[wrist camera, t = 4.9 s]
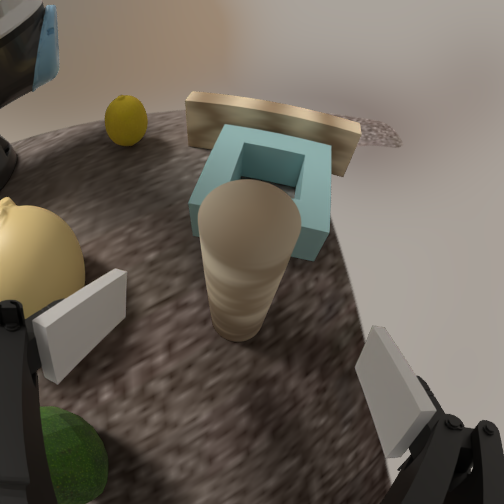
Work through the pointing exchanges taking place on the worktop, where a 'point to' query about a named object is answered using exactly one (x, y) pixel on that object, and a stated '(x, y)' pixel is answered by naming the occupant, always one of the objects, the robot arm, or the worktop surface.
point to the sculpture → (37, 257)
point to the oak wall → (269, 123)
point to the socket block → (273, 177)
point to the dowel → (245, 252)
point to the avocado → (73, 456)
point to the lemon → (126, 120)
